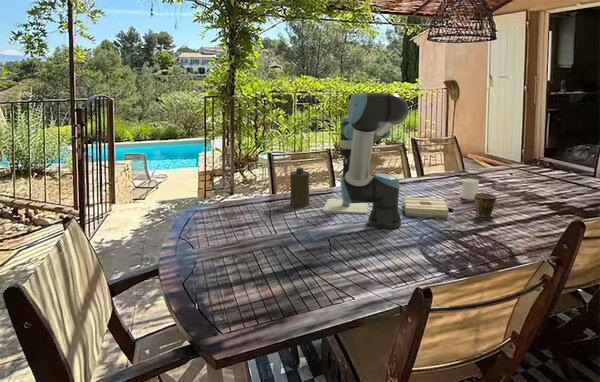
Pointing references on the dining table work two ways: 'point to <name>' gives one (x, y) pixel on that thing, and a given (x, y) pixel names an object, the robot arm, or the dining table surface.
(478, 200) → the ceramic cup
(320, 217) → the dining table surface
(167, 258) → the dining table surface
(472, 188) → the cup
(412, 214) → the block
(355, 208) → the pad
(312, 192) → the dining table surface
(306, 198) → the canister
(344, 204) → the white peg
